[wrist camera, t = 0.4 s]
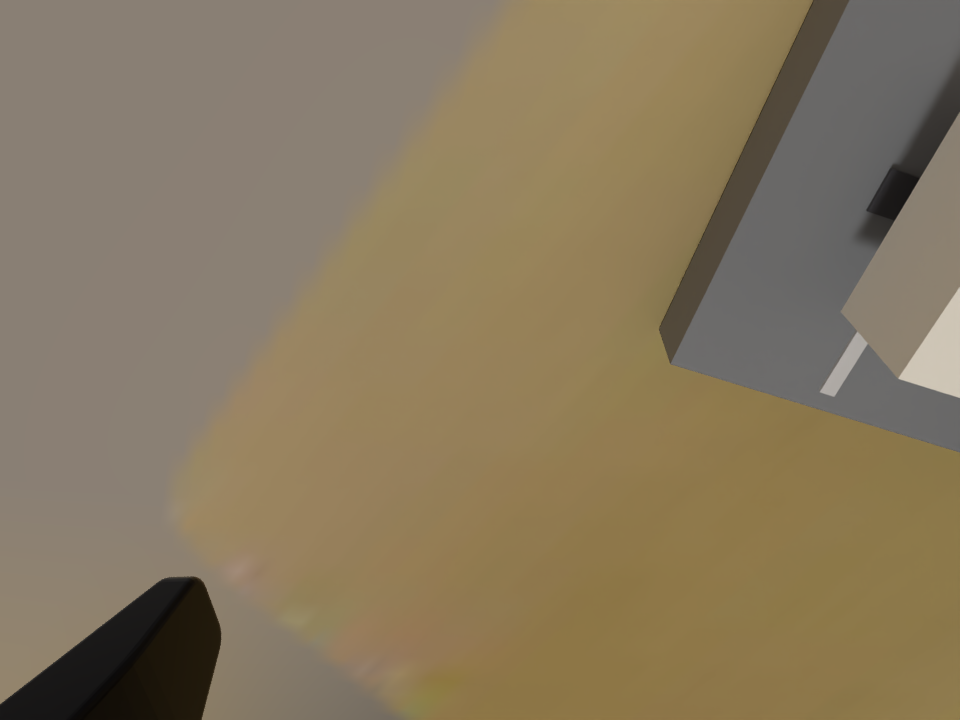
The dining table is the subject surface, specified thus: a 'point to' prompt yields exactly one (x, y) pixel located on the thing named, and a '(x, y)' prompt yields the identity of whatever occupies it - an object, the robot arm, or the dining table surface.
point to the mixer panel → (825, 216)
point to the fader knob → (918, 281)
